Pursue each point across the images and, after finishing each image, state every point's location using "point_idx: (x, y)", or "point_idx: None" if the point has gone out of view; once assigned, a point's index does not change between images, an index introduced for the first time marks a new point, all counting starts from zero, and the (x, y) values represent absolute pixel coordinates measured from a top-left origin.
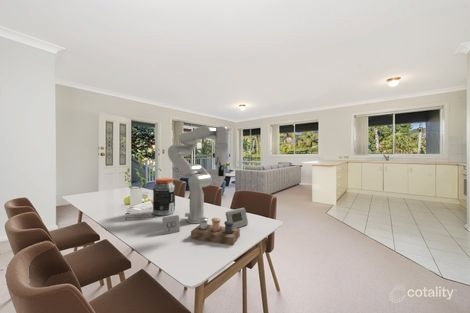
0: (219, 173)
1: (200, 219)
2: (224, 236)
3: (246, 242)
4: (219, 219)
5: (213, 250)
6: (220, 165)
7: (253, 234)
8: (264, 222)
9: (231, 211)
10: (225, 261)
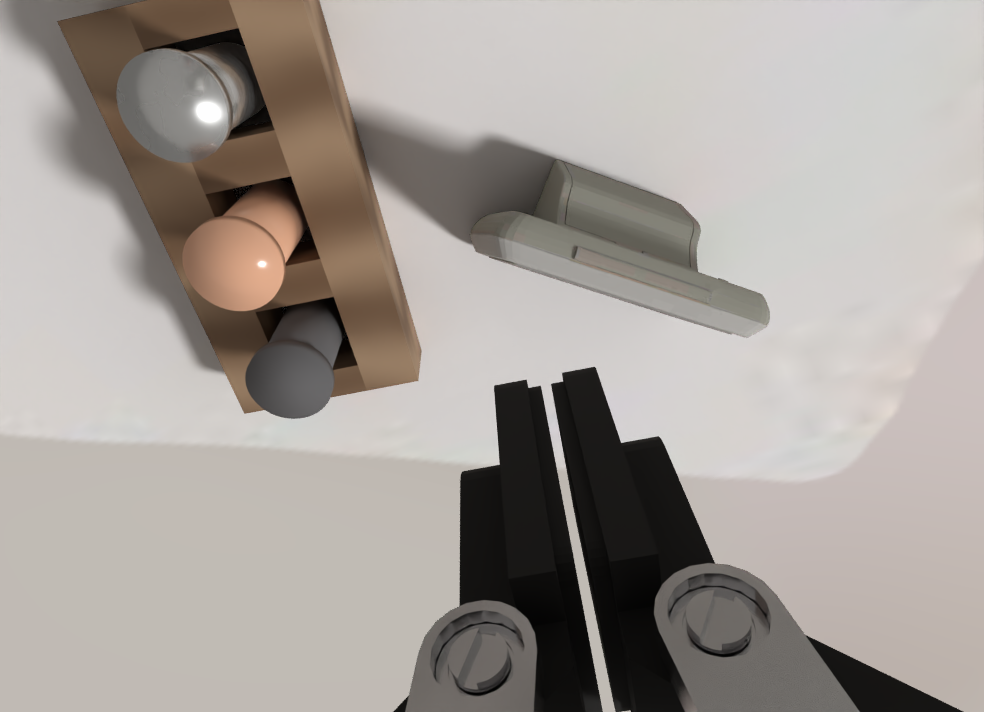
0: (463, 520)
1: (132, 81)
2: (216, 354)
3: (358, 427)
4: (253, 299)
5: (112, 313)
6: None
7: None
8: (790, 394)
9: (554, 275)
10: (81, 432)
